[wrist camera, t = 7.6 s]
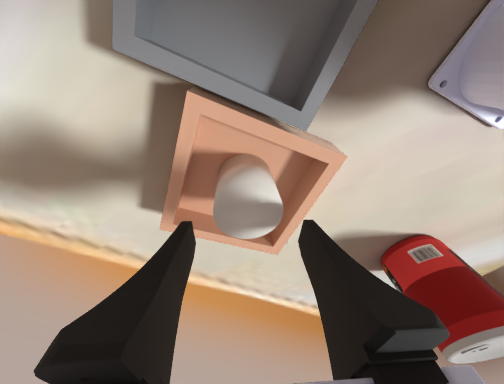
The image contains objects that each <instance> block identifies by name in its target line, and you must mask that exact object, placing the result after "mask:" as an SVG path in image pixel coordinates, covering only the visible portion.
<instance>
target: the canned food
mask: <svg viewBox="0 0 504 384" xmlns="http://www.w3.org/2000/svg"><path fill="white" fill-rule="evenodd" d="M381 264H382V267H383V270H384V272H385V273H386V274H387V276H388V277H389V279H390V280H391V282H392V283H393V284H394V286H395V287H396V289H397V290H398V291H399V292H401V293H402V294H404V295H406V296H407V297H409V298H411V299H413V300H414V301H416V302H418V303H420V304H422V305H424V306H425V307H427V308H429V309H431V310H433V312H434V313H435V314H436V315H437V317H438V318H439V319H440V320H441V322H442V323H443V324H444V325H445V327H446V328H447V329H448V331H449V333H450V334H449V337H448V339H446V340H445V341H444V342H442V343H441V344H439V345H438V346H437V347H438V348H439V350H440V351H441V352H442V354H443V355H444V356H445V357H446V358H447V360H448V361H450V362H452V363H460V364H461V363H473V362H480V361H485V360H490V359H494V358H498V357H502V356H504V295H503V294H502V293H500V292H499V291H498V290H497V289H496V288H495V287H493V286H492V285H491V284H490V283H489V282H488V281H487V280H485V279H484V278H483V277H482V276H481V275H480V274H478V273H477V272H476V271H475V270H474V269H473V268H472V267H470V266H469V265H468V264H467V263H466V262H465V261H463V260H462V259H461V258H460V257H459V256H458V255H456V254H455V253H454V252H453V251H452V250H451V249H450V248H448V247H447V246H446V245H445V244H444V243H443V242H441V241H440V240H438V239H436V238H434V237H431V236H425V235H423V236H415V237H411V238H407V239H405V240H403V241H400V242H399V243H397V244H395V245H394V246H392V247H391V248H390V249H388V250H387V252H386V253H385V254H384V255H383V257H382V260H381Z"/></svg>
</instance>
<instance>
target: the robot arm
mask: <svg viewBox="0 0 504 384" xmlns="http://www.w3.org/2000/svg"><path fill="white" fill-rule="evenodd" d="M442 81H443V83H442V85H441V86H440V84H441V82H442ZM428 86H429V87H430V88H431V89H433V90H434V91H436V92H438V93H439V94H441V95H442V96H444V97H446V98H447V99H449V100H450V101H452V102H454V103H455V104H457V105H459V106H460V107H462V108H463V109H465V110H467V111H468V112H470V113H471V114H473V115H475V116H476V117H478V118H480V119H481V120H483V121H484V122H486V123H488V124H489V125H491V126H493V127H494V128H497V129H504V0H491V1H490V2H489V4H488V5H487V6H486V7H485V9H484V10H483V11H482V12H481V14H480V15H479V16H478V18H477V19H476V20H475V21H474V23H473V24H472V25H471V27H470V28H469V29H468V30H467V32H466V33H465V34H464V36H463V37H462V38H461V39H460V41H459V42H458V43H457V45H456V46H455V47H454V48H453V50H452V51H451V52H450V54H449V55H448V56H447V57H446V59H445V60H444V61H443V63H442V64H441V65H440V66H439V68H438V69H437V70H436V72H435V73H434V74H433V75H432V77H431V78H430V80H429V82H428ZM298 243H299V248H300V252H301V256H302V259H303V262H304V265H305V267H306V270H307V273H308V276H309V278H310V281H311V284H312V287H313V290H314V293H315V296H316V300H317V304H318V308H319V312H320V316H321V320H322V324H323V328H324V333H325V338H326V342H327V347H328V353H329V358H330V363H331V369H332V375H333V380H334V381H321V382H309V383H295V384H485V382H484V381H483V380H482V379H481V377H480V376H479V375H478V373H477V372H476V371H475V369H474V368H473V367H472V366H471V365H457V366H447V367H442V368H440V367H439V366H438V365H437V363H436V362H435V360H437V359H438V357H437V355H436V354H435V352H434V351H433V348H435V347H436V346H438V345H439V344H441V343H442V342H444V341H445V340H446V339H448V337H449V334H450V333H449V331H448V329H447V328H446V327H445V325H444V324H443V323H442V322H441V320H440V319H439V318H438V317H437V315H436V314H435V313H434V312H433V310H431V309H429V308H427V307H425V306H424V305H422V304H420V303H418V302H416V301H414V300H413V299H411V298H409V297H407V296H406V295H404V294H402V293H401V292H399V291H397V290H396V289H394V288H392V287H391V286H389V285H388V284H386V283H385V282H383V281H382V280H380V279H379V278H377V277H376V276H375V275H373V274H372V273H370V272H369V271H368V270H366V269H365V268H364V267H362V266H361V265H360V264H359V263H357V262H356V261H355V260H354V259H352V258H351V257H350V256H349V255H348V254H347V253H346V252H345V251H343V250H342V249H341V248H340V247H339V246H338V245H337V244H336V243H335V242H334V241H333V240H332V239H331V238H330V237H329V236H328V235H327V234H326V233H325V232H324V231H323V230H322V229H321V228H320V227H319V226H318V225H317V224H316V223H315V222H314V220H304V221H303V225H302V229H301V232H300V236H299V240H298ZM195 246H196V241H195V236H194V230H193V224H192V221H182V222H181V223H180V224H179V225H178V227H177V228H176V229H175V231H174V232H173V233H172V234H171V236H170V237H169V238H168V239H167V241H166V242H165V243H164V244H163V245H162V247H161V248H160V249H159V250H158V251H157V252H156V253H155V254H154V255H153V257H152V258H151V259H150V260H149V261H148V262H147V263H146V264H145V265H144V266H143V267H142V268H141V269H140V270H139V271H138V272H137V273H136V274H134V275H133V276H132V277H131V278H130V279H129V280H128V281H127V282H125V283H124V284H123V285H122V286H121V287H120V288H118V289H117V290H116V291H115V292H113V293H112V294H111V295H109V296H108V297H107V298H106V299H104V300H103V301H102V302H100V303H99V304H98V305H96V306H95V307H94V308H92V309H91V310H89V311H88V312H87V313H85V314H84V315H82V316H81V317H79V318H78V319H76V320H75V321H73V322H72V323H70V324H69V325H67V326H66V327H64V328H63V329H61V331H60V332H59V333H58V335H57V336H56V337H55V339H54V340H53V342H52V343H51V345H50V346H49V348H48V349H47V351H46V353H45V354H44V356H43V357H42V359H41V360H40V362H39V363H38V365H37V367H36V368H35V369H34V373H35V376H36V377H38V378H39V379H41V380H43V381H45V382H47V383H49V384H169V383H170V376H171V368H172V361H173V353H174V346H175V339H176V334H177V328H178V322H179V316H180V310H181V305H182V300H183V295H184V291H185V288H186V284H187V281H188V277H189V273H190V270H191V266H192V262H193V259H194V253H195Z"/></svg>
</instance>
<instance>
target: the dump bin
mask: <svg viewBox="0 0 504 384" xmlns="http://www.w3.org/2000/svg"><path fill="white" fill-rule="evenodd" d="M238 154H252V155H255V156H258V157H260V158H261V159H263V160H264V161H265V162H266V163H267V165H268V166H269V168H270V171H271V173H272V176H273V179H274V181H275V184H276V187H277V190H278V192H279V195H280V198H281V200H282V203H283V208H284V211H283V217H282V219H281V221H280V223H279V224H278V225H277V227H276V228H275V229H273V230H272V231H271V232H269V233H268V234H266V235H263V236H261V237H257V238H253V239H239V238H235V237H231V236H229V235H227V234H225V233H224V232H222V231H221V230H220V229H219V228H218V227H217V225H216V224H215V221H214V219H213V207H214V199H215V190H216V182H217V175H218V171H219V168H220V167H221V165H222V164H223V163H224V162H225V161H226V160H227V159H229V158H230V157H232V156H235V155H238ZM346 158H347V156H346V155H345V154H344V153H343V152H341V151H340V150H339V149H338V148H337V147H335V146H334V145H333V144H332V143H330V142H328V141H325V140H323V139H321V138H318V137H316V136H314V135H311V134H309V133H307V132H304V131H302V130H299V129H297V128H295V127H292V126H290V125H288V124H285V123H283V122H281V121H278V120H276V119H273V118H271V117H269V116H266V115H264V114H262V113H259V112H257V111H255V110H252V109H250V108H247V107H245V106H243V105H240V104H238V103H236V102H233V101H231V100H229V99H226V98H224V97H221V96H219V95H217V94H214V93H212V92H210V91H207V90H205V89H203V88H200V87H198V86H195V87H193V88H191V89H189V90H188V91H187V94H186V99H185V104H184V109H183V114H182V119H181V124H180V129H179V134H178V139H177V144H176V149H175V154H174V159H173V164H172V169H171V174H170V179H169V184H168V189H167V194H166V199H165V204H164V209H163V214H162V219H161V224H160V230H165V231H169V232H174V231H175V229H176V228H177V227H178V225H179V224H180V223H181V222H182V221H192V224H193V230H194V236H195V237H197V238H202V239H206V240H211V241H216V242H220V243H225V244H230V245H234V246H239V247H243V248H248V249H253V250H257V251H262V252H267V253H271V254H276V255H278V253H279V252H280V251H281V249H282V248H283V246H284V245H285V244H286V242H287V241H288V239H289V238H290V237H291V235H292V234H293V232H294V231H295V230H296V228H297V227H298V225H299V224H300V223H301V221H302V220H303V218H304V217H305V216H306V214H307V213H308V211H309V210H310V209H311V207H312V206H313V204H314V203H315V202H316V200H317V199H318V197H319V196H320V195H321V193H322V192H323V190H324V189H325V188H326V186H327V185H328V184H329V182H330V181H331V179H332V178H333V177H334V175H335V174H336V172H337V171H338V170H339V168H340V167H341V165H342V164H343V163H344V161H345V160H346Z"/></svg>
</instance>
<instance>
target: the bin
mask: <svg viewBox="0 0 504 384" xmlns="http://www.w3.org/2000/svg"><path fill="white" fill-rule="evenodd" d="M377 2H378V0H113V19H112V49H113V50H115V51H118V52H120V53H122V54H125V55H127V56H129V57H132V58H134V59H136V60H139V61H141V62H144V63H146V64H148V65H151V66H153V67H155V68H158V69H160V70H162V71H165V72H167V73H169V74H172V75H174V76H176V77H179V78H181V79H184V80H186V81H188V82H191V83H193V84H195V85H198V86H200V87H202V88H205V89H207V90H209V91H212V92H214V93H217V94H219V95H221V96H224V97H226V98H228V99H231V100H233V101H235V102H238V103H240V104H242V105H245V106H247V107H250V108H252V109H254V110H257V111H259V112H261V113H264V114H266V115H268V116H271V117H273V118H275V119H278V120H280V121H282V122H285V123H287V124H290V125H292V126H294V127H297V128H299V129H301V130H304V131H307V129H308V127H309V125H310V124H311V122H312V120H313V118H314V116H315V115H316V113H317V111H318V109H319V107H320V106H321V104H322V102H323V100H324V98H325V96H326V95H327V93H328V91H329V89H330V87H331V86H332V84H333V82H334V80H335V78H336V76H337V75H338V73H339V71H340V69H341V67H342V66H343V64H344V62H345V60H346V58H347V57H348V55H349V53H350V51H351V49H352V47H353V46H354V44H355V42H356V40H357V38H358V37H359V35H360V33H361V31H362V29H363V27H364V26H365V24H366V22H367V20H368V18H369V17H370V15H371V13H372V11H373V9H374V8H375V6H376V4H377Z"/></svg>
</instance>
